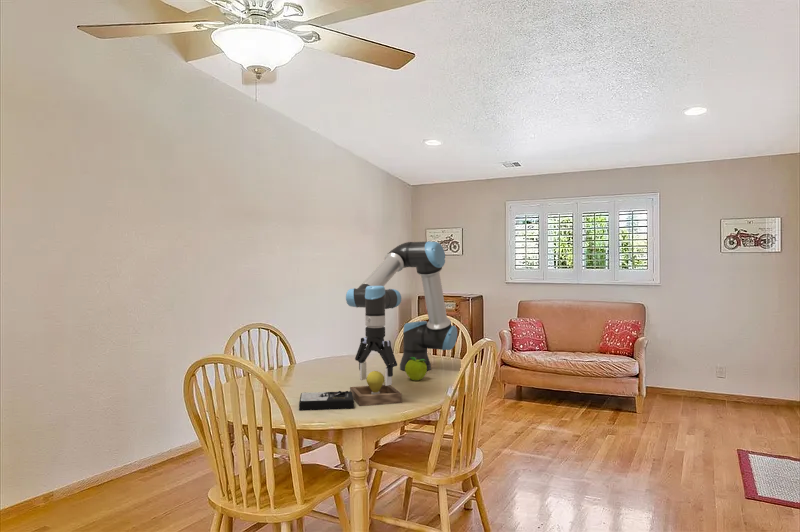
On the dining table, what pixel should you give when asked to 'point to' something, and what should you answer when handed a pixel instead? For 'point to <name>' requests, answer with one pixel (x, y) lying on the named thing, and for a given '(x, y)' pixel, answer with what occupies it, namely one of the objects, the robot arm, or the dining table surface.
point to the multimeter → (326, 401)
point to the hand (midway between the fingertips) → (375, 382)
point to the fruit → (416, 368)
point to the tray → (385, 397)
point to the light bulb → (375, 381)
